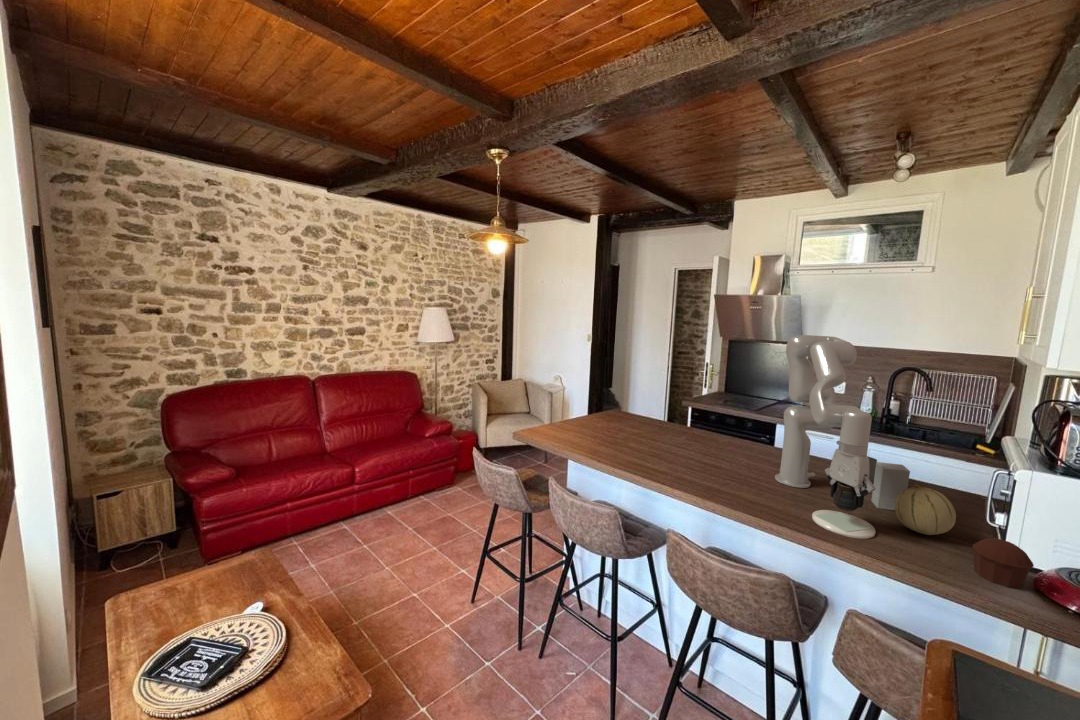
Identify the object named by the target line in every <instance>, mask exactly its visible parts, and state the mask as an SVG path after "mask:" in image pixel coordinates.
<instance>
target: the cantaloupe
mask: <svg viewBox="0 0 1080 720" xmlns="http://www.w3.org/2000/svg"><path fill="white" fill-rule="evenodd" d="M894 511H895V516H896V517H897V518H898V520H899V521H900V522H901V524H903V525H904V526H905V527H906V528H908V529H909V530H911V531H913V532H916V533H917V534H918V533H919V534H922V535H927V536H934V535H940V534H945V533H948V532H949V531H950V530H951V529H953V527H954V526H955V524H956V519H957V518H956V517H957V514H956V510H955V507H954V505H953V504H952V502H951V501H950V500H949V498H947V497H946V496H945V495H944V494H942V493H941V492H939V491H937V490H935V489H934V488H933V489H932V488H929V487H926V486H925V487H923V486H920V485H918V484H914V485H913V487H909V488H907V489H905V490H903V491H901V492H900V493H899V494H898V496H897V497H896V500H895V510H894Z"/></svg>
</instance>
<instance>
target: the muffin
mask: <svg viewBox="0 0 1080 720" xmlns="http://www.w3.org/2000/svg"><path fill="white" fill-rule="evenodd" d="M972 549H973V550H972V551H973V565H974V566H973V570H974V572H975V573H976V574H977V575H978V576H979V577H980V578H982V579H984V580H987V581H988V582H990V583H992V584H994V585H995V584H996V585H1000V586H1002V587H1005V588H1010V589H1020V588H1021V587H1022V586H1024V583H1025V580H1026V578H1027V577H1028V575H1029V572H1030V570H1031V569H1032V568H1033V567H1035V565H1034V562H1033V561H1032V559H1031V558H1030V557H1029V555H1028V554H1027V552H1025V551H1024V550H1023V549H1022V548H1021V547H1019V546H1018V545H1016V544H1014V543H1012V542H1010V541H1007V540H1005V539H1000V538H995V537H994V538H992V537H991V538H990V537H989V538H984V539H981V540H979V541H977V542H975V543H973V544H972Z"/></svg>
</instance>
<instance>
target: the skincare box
mask: <svg viewBox="0 0 1080 720" xmlns="http://www.w3.org/2000/svg"><path fill="white" fill-rule="evenodd" d="M910 473H911V471H910V469H908V468H907V467H906V466H905V465H903V464H901V463H900V464H899V463H889V462H888V463H887V462H880V461H877V462H876V469H875V476H874V481H873V483H872V484H873V485H874V486H875V488H876V489H875V490H874V491H872V492H871V501H870V502H872V504H873V505H874V506H875V508H877V509H881V510H888V511H895V500H896V497H897V496H898V494H899V493H900V492H901V491H903V490H905V489H907V488H908V487H909V480H910V475H911V474H910Z"/></svg>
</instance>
